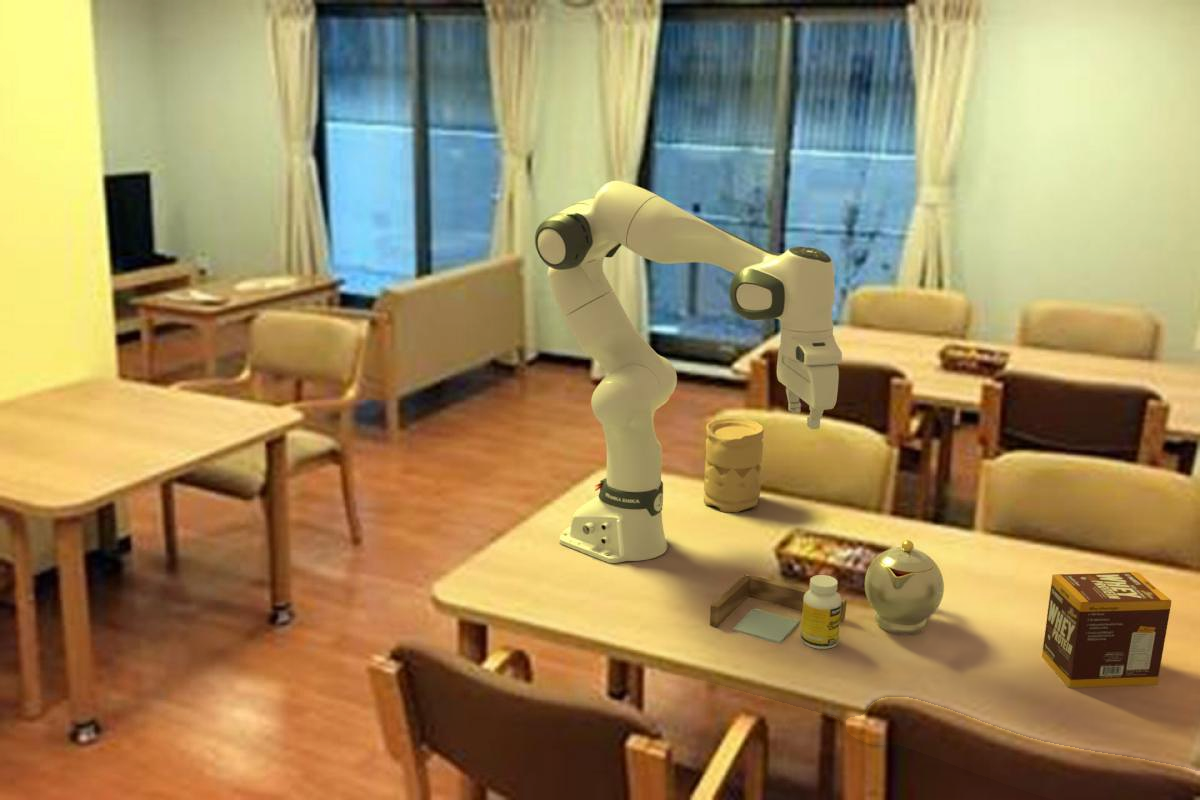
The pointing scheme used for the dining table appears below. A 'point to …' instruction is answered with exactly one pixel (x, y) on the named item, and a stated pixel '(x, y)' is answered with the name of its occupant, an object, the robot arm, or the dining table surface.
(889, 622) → the teapot
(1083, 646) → the supplement box
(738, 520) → the dining table surface
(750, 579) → the wooden l-shaped wall
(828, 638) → the pill bottle
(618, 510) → the robot arm
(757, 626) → the pad
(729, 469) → the container
